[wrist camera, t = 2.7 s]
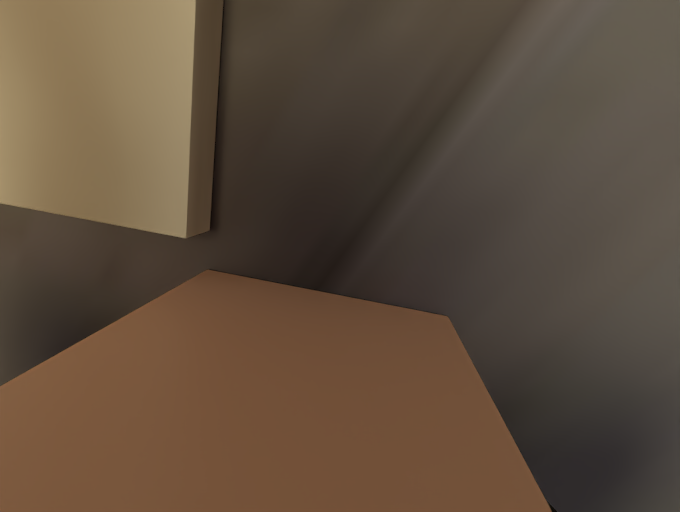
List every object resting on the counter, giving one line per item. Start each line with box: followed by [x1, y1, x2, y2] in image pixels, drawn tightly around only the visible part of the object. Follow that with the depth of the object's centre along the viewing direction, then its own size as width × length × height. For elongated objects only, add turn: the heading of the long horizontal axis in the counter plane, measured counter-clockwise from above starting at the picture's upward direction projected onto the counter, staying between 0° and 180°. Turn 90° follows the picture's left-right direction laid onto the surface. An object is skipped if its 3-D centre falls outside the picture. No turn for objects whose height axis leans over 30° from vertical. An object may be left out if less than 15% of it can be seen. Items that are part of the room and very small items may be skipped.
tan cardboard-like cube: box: [0, 269, 552, 512], centre depth 6 cm, size 6×6×6 cm
